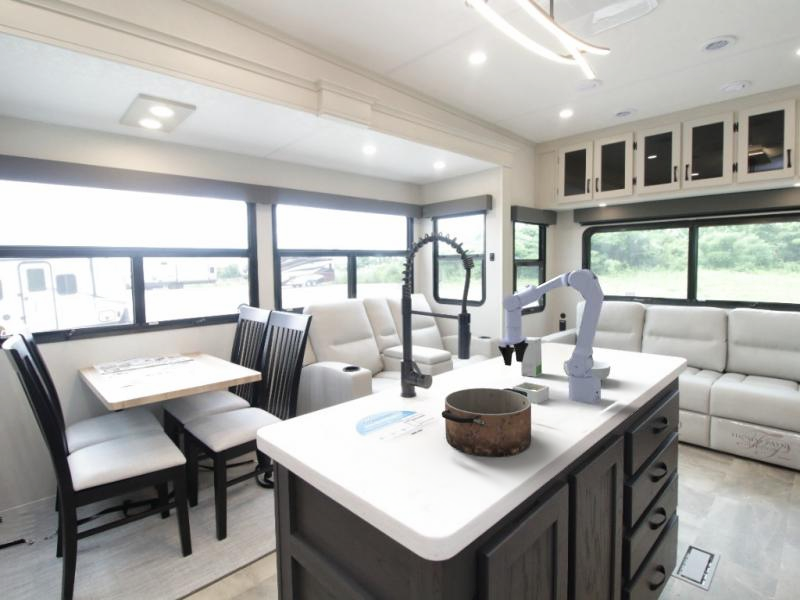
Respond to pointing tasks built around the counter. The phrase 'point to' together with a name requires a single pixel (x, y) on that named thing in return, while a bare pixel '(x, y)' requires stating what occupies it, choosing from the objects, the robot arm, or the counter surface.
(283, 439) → the counter surface
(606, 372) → the cereal bowl
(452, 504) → the counter surface
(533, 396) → the tub
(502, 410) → the cooking pot
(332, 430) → the counter surface
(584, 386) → the robot arm
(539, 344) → the skincare box
